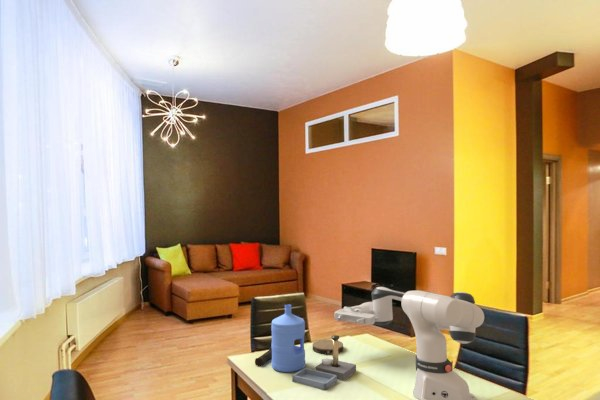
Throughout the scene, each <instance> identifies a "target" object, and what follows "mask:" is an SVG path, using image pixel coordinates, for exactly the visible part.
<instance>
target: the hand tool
mask: <svg viewBox="0 0 600 400" xmlns="http://www.w3.org/2000/svg"><path fill="white" fill-rule="evenodd" d="M270 359H272V347H271V346H270V347H269V349H268V350H267V351H266V352H265V353H263V354H262V355H260V356H258V357H257V358H255V359H254V364H255V366H256V365H258V366H257V367H262V366H264V365H265V364H264V363H266V362H268V361H269V360H270Z"/></svg>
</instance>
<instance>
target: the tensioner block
mask: <svg viewBox="0 0 600 400" xmlns="http://www.w3.org/2000/svg"><path fill="white" fill-rule="evenodd" d="M314 370H317V371H321V372H325V373H329V374H334V375H337V381H338V380H339V381H346V380H348V378H350V376H352V375H353V374H355V373H356V372H357V364H356V363H351V362H346V361H341V360H338V368H336V367H333V358H329V357H327V358H322V359H321V362H320V363H319V364H317V365H316V366H314Z"/></svg>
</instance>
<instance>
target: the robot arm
mask: <svg viewBox="0 0 600 400" xmlns="http://www.w3.org/2000/svg"><path fill="white" fill-rule="evenodd" d="M393 300H395V301H400V302H401V308H402V310H403V312H404V313H405V315H407V318H409V321H410V322H411V325H412V327H413V330H414V334H415V335H414V336H415V342H416V343H415V344H416V356H415V371H416V373H415V374H416V376H415V383H414V387H413V391H412V392H413V396H415V398H417V399H418V400H477V398H476V396H475V395H474V394H473V393H471V391H470V388H469V384H468V382H467V380H465V379H464V378H463V377H462V376H460V375H459V374H458V373H457V372H456V371H455V370H454V369H453V367H454V366H453V363H454V360H451V361H450V359H448V354H447V353H448V351H447V346H448V345H447V337H446V336H445V335H444V334H443V332H441V330H448V334H449V336H450V338H451V340H453V341H454V342H457V343H459V344H466V345H467V344H470V343H473V342H474V341H476V340H475V339H476V335H477V334H476V328H478V327H479V328H480V327H481V326H482V324H483V323H484V321H485V313H484V311H483V310H482V308H481V307H480V306H478V305H476V300H475V298H474V296H473V295H472V294H471V293H468V292H465V291H457V292H454V293H452V294H451V295H450V296H448V295H446V294H445V295H444V294H439V293H434V292H430V291H429V292H428V291H424V290H420V289H419V290H418V289H417V290H416V289H415V290H408V291H406V292H404V291H399V290H394V289H392V288H391V289H390V288H388V287H385V286H377V287H375V288H374V289H372V291H371V301H366V302H363V303H361V304H359V305H354V306H351V305H350V306H344V307H343V308H340V309H337V310H335V311H334V312H333V313H334V317H333V318H334V319H335V320H336V321H337V322H342V321H343V322H348V323H355V325H365V326H366V325H367V326H373V325H374V326H375V325H376V326H386V325H389V324H390V323H392V321H393V319H394V318H393V317H394V314H393V313H394V312H393Z"/></svg>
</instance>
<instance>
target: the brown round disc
mask: <svg viewBox="0 0 600 400" xmlns="http://www.w3.org/2000/svg"><path fill="white" fill-rule="evenodd" d="M343 351H344V343H343V342H342V341H341V340H340V341H339V340H338V354H341V353H342V352H343ZM312 352H314V353H316V354H319V355H326V356H328V355H329V356H330V355H332V356H333V339H331V338H330V339H328V338H327V339H326V338H325V339H318V340H315V341H314V342H312Z"/></svg>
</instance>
